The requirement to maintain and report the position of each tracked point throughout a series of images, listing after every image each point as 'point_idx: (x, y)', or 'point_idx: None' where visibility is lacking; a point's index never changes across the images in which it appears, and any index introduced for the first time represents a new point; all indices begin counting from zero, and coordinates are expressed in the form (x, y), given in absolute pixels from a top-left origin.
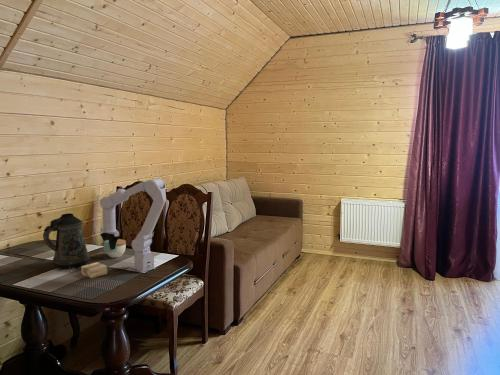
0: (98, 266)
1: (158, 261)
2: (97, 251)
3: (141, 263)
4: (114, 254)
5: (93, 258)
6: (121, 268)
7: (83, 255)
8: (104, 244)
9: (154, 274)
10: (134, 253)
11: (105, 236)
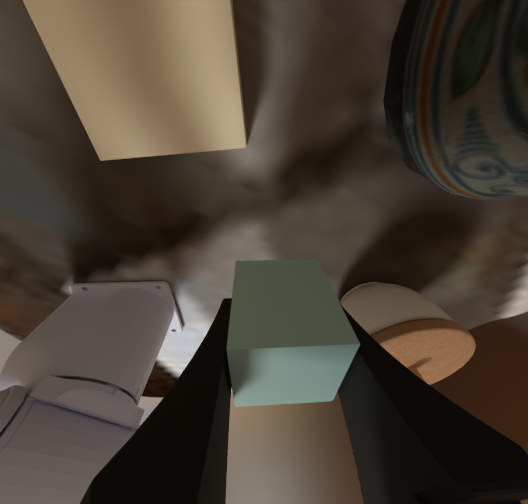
0: (112, 86)
1: (187, 359)
2: (491, 279)
3: (59, 320)
4: (347, 300)
5: (438, 223)
6: (185, 250)
7: (458, 95)
8: (316, 310)
9: (26, 304)
10: (93, 357)
11: (386, 435)
